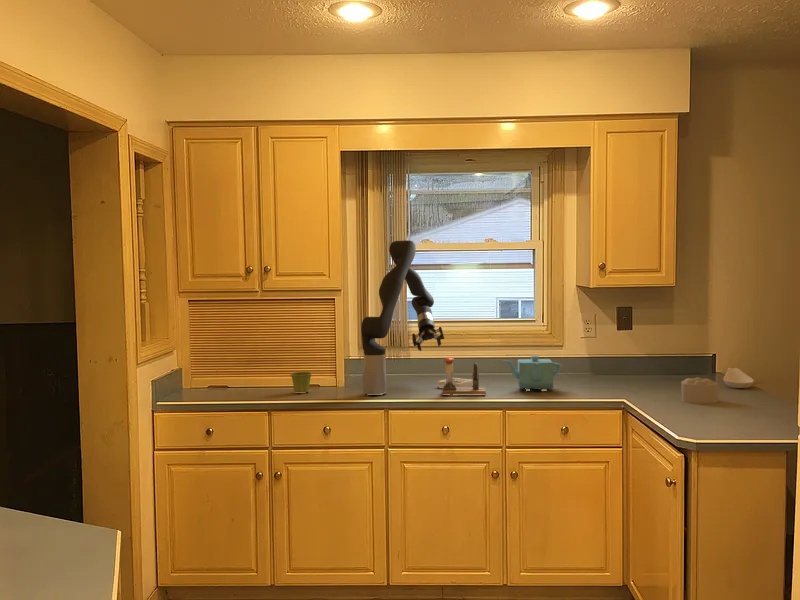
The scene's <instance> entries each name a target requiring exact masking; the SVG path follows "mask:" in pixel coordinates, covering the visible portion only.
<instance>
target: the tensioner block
mask: <svg viewBox="0 0 800 600" xmlns="http://www.w3.org/2000/svg"><path fill="white" fill-rule="evenodd" d="M478 368H479V366H478V363H477V361H476V362H473V364H472V380H473V387H456V385H453V387H446V386H443V388H442V391H441V394H450V395H453V394H486V395H487V392H486V387H485V386H484V387H483V386H479V385H480V384H479V379H480V378H479V372H478V370H479V369H478Z"/></svg>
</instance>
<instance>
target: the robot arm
mask: <svg viewBox="0 0 800 600" xmlns="http://www.w3.org/2000/svg"><path fill="white" fill-rule="evenodd" d="M388 251H389V255H390V258H391V260H392V261H393V263H394V264H395V265H394V267H393V268H392V269H391V270H389V271H388V272H387V273H386V274H385V275H384V276H383V278H382V281H381V283H380V286H379V289H378V295H379V298H380V302H381V306H382V308H381V313H380V315H379V316H365V317H364V318H363V319H362V321H361V326H360V327H361V329H360V330H361V343H362V345H361V346H362V349H363V367H364V369H363V371H364V372H362V392H363V393H364V394H380V393H384V392H386V393H387V371H386V370H387V367H386V365H387V364H386V348H385V346H383V345H381V344H379V343H378V342H377V341H376V339H378V340H379V339H384V338H386V337H387V335H388V334H389V330H390V327H391V324H392V319H393V315H394V311H395V307H396V305H397V302H398V299H399V297H400V294H401V291H402V288H403V286H404V285H403V284H404V282H405V283H406V284H407V287H408V289H409V292H410V294H411V295H412V296H414V297H412V299H411V306H412V308H413V310H414V311H415V313H416V318H417V328H418V333H417V334H415V333H412V334H411V335H412V338H411V339H412V344H413V347H416V346H417V350H418V351H419V352H422V346H421V345H422V344H423V343H425V341H429V340H432V339H433V340H435V341H436V343H437V346H438V347H441V345H442V341H441V340H444V339H445V335H444V332H443V329H442V327H441V326H439V327H438V328H436V327H435V320H434V317H433V312H432V309H431V308H432V307H433V306H434V304H435V300H434V297H433V295H432V294H431V293H430V292H429V291H428V289H427V288H426V287H425V284H424V282H423V280H422V277H421V276H420V274H419V273H418V272H417V271H416V270H415V269H414V268H413V267H411V266H412V263H413V262H414V258H415V256H416V252H417V246H416V243H415V242H414V241H412V240H408V239H407V240H394V241H391V243H390V245H389V249H388ZM437 333H438V334H437ZM439 334H440V335H439ZM363 393H362V394H363Z"/></svg>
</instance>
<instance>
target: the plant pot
mask: <svg viewBox="0 0 800 600" xmlns="http://www.w3.org/2000/svg"><path fill="white" fill-rule="evenodd" d="M312 374H313V373H312V372H311V371H299V372H298V371H297V372H291V373H290V377H291V379H292V385H293V391H295V392H308V391H310V382H311V377H312ZM295 392H294V393H295Z"/></svg>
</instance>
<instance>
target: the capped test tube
mask: <svg viewBox="0 0 800 600" xmlns="http://www.w3.org/2000/svg"><path fill="white" fill-rule="evenodd" d="M443 362H445V363H444V365H445V379H446V387H453V378H454V362H455V358H454V357H446V358H443Z"/></svg>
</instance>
